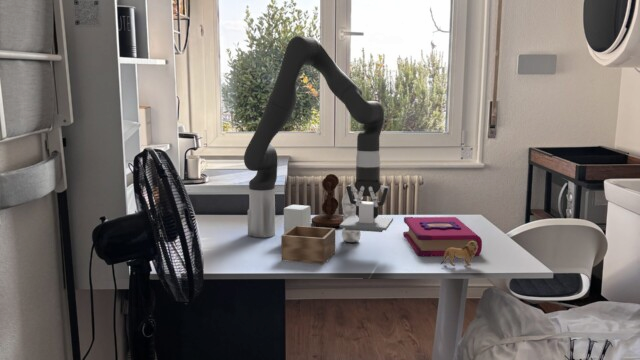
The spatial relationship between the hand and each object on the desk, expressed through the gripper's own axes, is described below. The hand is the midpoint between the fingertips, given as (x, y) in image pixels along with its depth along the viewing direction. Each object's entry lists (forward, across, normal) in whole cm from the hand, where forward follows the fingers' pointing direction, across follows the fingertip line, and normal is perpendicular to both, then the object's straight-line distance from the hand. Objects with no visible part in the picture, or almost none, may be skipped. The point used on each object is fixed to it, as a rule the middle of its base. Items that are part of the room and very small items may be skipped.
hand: (367, 217), depth 195 cm
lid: (+2, 0, 0) cm, 2 cm away
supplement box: (+13, -27, +11) cm, 32 cm away
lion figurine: (+13, +29, -1) cm, 32 cm away
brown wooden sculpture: (+13, -22, +38) cm, 46 cm away
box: (+13, -18, -5) cm, 23 cm away
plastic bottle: (+13, -9, +16) cm, 23 cm away
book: (+14, +22, +22) cm, 34 cm away
